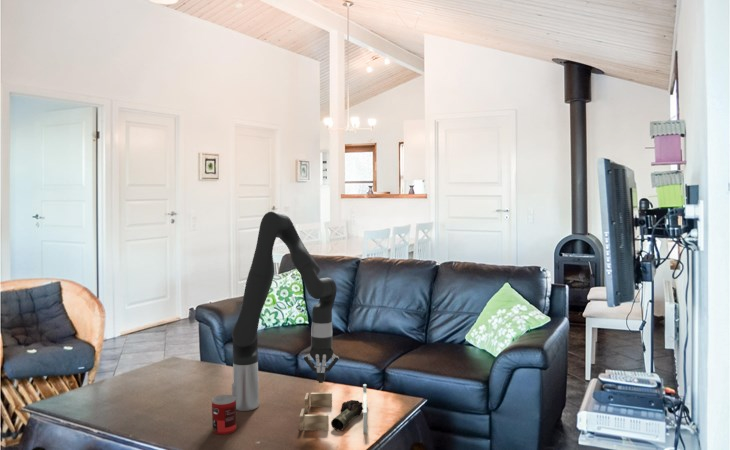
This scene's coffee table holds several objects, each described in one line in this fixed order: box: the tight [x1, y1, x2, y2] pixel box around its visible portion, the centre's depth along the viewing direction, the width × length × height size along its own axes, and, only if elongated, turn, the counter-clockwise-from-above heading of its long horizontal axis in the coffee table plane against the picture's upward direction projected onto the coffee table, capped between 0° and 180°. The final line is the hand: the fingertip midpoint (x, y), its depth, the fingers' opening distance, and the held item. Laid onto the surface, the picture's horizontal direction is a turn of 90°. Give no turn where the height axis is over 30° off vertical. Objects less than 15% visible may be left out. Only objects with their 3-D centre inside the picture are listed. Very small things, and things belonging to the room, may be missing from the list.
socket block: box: [299, 391, 333, 431], centre depth 197 cm, size 10×22×5 cm, turn 0°
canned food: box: [211, 394, 237, 436], centre depth 187 cm, size 8×8×11 cm
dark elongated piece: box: [330, 399, 363, 432], centre depth 194 cm, size 18×7×6 cm, turn 155°
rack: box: [362, 383, 368, 434], centre depth 197 cm, size 1×28×7 cm, turn 0°
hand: (321, 382), depth 195 cm, fingers closed
